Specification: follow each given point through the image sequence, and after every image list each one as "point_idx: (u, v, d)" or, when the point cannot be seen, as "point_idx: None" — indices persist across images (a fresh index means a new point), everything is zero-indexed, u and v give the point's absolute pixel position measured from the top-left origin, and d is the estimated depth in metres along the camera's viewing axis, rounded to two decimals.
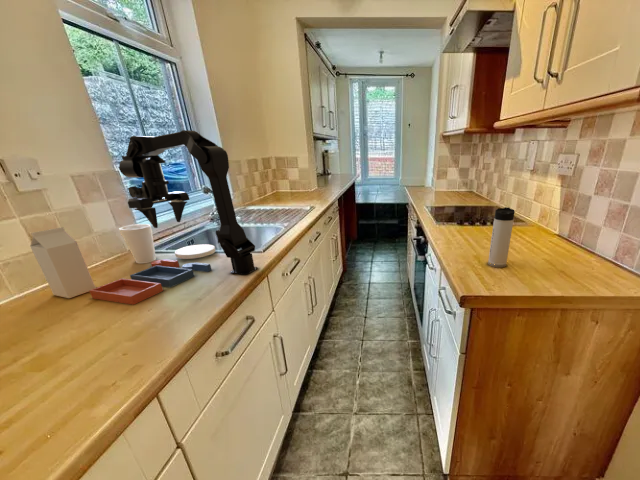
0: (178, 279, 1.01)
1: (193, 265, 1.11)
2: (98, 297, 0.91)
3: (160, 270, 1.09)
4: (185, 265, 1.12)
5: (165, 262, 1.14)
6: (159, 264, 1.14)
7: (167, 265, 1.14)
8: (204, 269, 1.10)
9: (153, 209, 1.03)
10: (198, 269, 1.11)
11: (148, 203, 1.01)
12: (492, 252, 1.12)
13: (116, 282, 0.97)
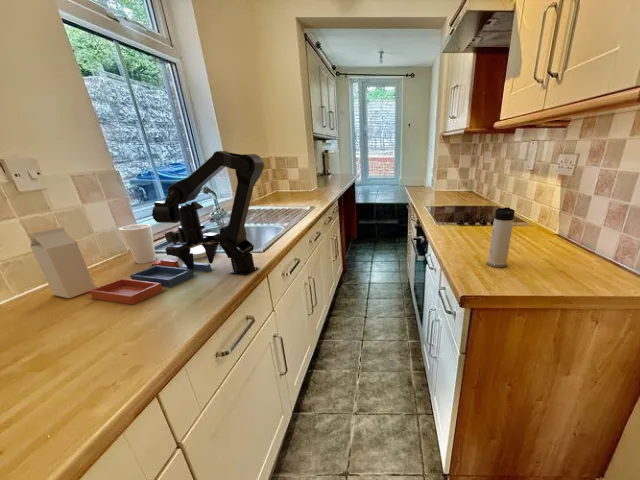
0: (178, 279, 1.01)
1: None
2: (98, 297, 0.91)
3: (160, 270, 1.09)
4: (185, 265, 1.12)
5: (165, 262, 1.14)
6: (159, 264, 1.14)
7: (167, 265, 1.14)
8: (204, 269, 1.10)
9: (191, 255, 1.03)
10: (198, 269, 1.11)
11: (186, 250, 1.01)
12: (492, 252, 1.12)
13: (116, 282, 0.97)
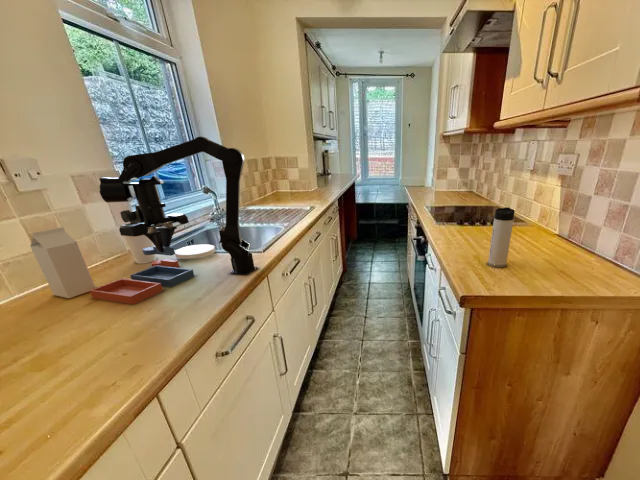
0: (178, 279, 1.01)
1: (154, 248, 1.00)
2: (98, 297, 0.91)
3: (160, 270, 1.09)
4: (146, 248, 1.01)
5: (165, 262, 1.14)
6: (159, 264, 1.14)
7: (167, 265, 1.14)
8: (166, 253, 0.99)
9: (159, 233, 0.95)
10: (160, 253, 1.00)
11: (142, 230, 0.90)
12: (492, 252, 1.12)
13: (116, 282, 0.97)
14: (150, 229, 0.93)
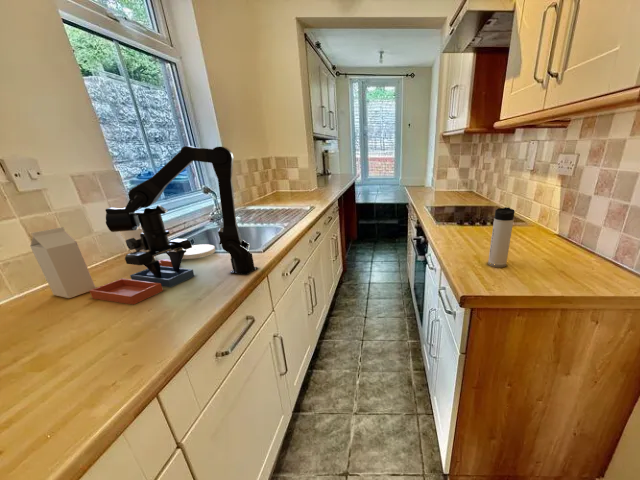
0: (178, 279, 1.01)
1: None
2: (98, 297, 0.91)
3: None
4: (150, 273, 1.04)
5: (165, 262, 1.14)
6: None
7: (167, 265, 1.14)
8: (170, 277, 1.02)
9: (157, 262, 0.96)
10: (164, 277, 1.03)
11: (147, 258, 0.93)
12: (492, 252, 1.12)
13: (116, 282, 0.97)
14: None
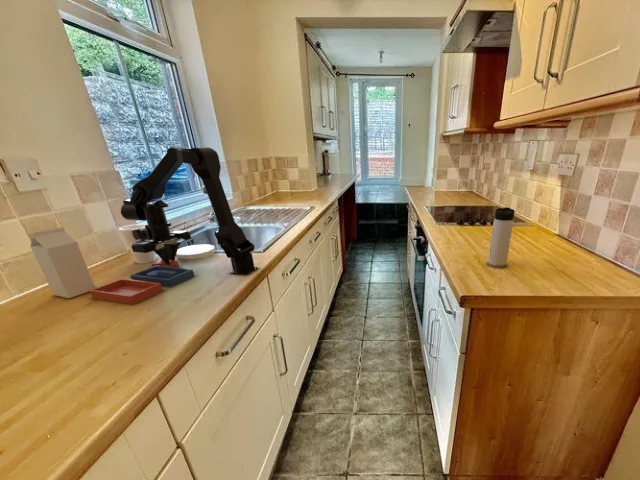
0: (178, 279, 1.01)
1: (158, 273, 1.03)
2: (98, 297, 0.91)
3: None
4: (150, 273, 1.04)
5: None
6: (159, 264, 1.14)
7: (167, 265, 1.14)
8: (170, 277, 1.02)
9: (165, 249, 1.09)
10: (164, 277, 1.03)
11: (151, 247, 1.04)
12: (492, 252, 1.12)
13: (116, 282, 0.97)
14: (158, 246, 1.07)
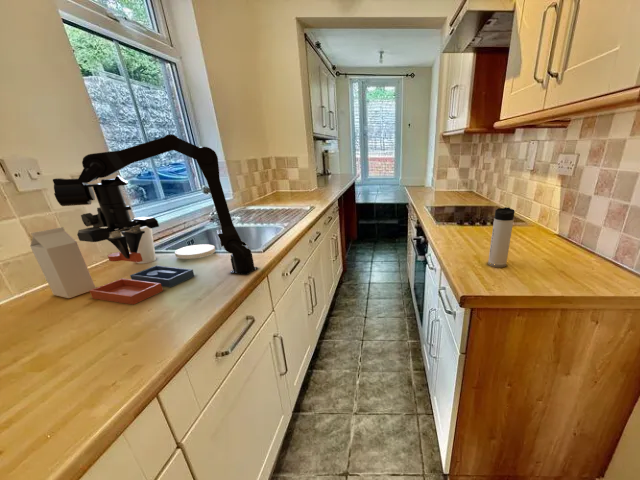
0: (178, 279, 1.01)
1: (158, 273, 1.03)
2: (98, 297, 0.91)
3: None
4: (150, 273, 1.04)
5: None
6: (117, 257, 0.93)
7: None
8: (170, 277, 1.02)
9: (123, 238, 0.88)
10: (164, 277, 1.03)
11: (102, 235, 0.83)
12: (492, 252, 1.12)
13: (116, 282, 0.97)
14: (113, 234, 0.86)
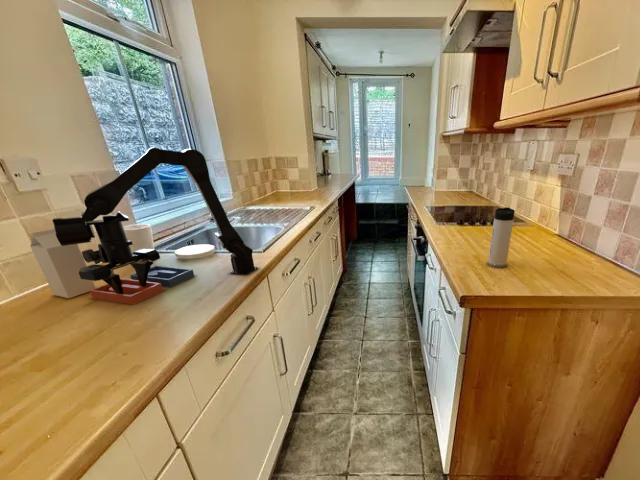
0: (178, 279, 1.01)
1: (158, 273, 1.03)
2: (98, 297, 0.91)
3: None
4: (150, 273, 1.04)
5: (126, 288, 0.92)
6: None
7: (129, 292, 0.92)
8: (170, 277, 1.02)
9: (116, 277, 0.85)
10: (164, 277, 1.03)
11: (104, 273, 0.82)
12: (492, 252, 1.12)
13: None
14: None
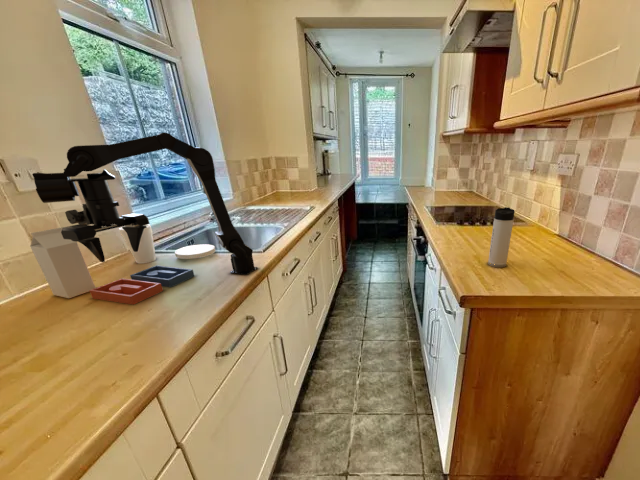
0: (178, 279, 1.01)
1: (158, 273, 1.03)
2: (98, 297, 0.91)
3: None
4: (150, 273, 1.04)
5: (126, 288, 0.92)
6: (119, 291, 0.92)
7: (129, 292, 0.92)
8: (170, 277, 1.02)
9: (96, 240, 0.80)
10: (164, 277, 1.03)
11: (88, 233, 0.78)
12: (492, 252, 1.12)
13: (116, 282, 0.97)
14: None
